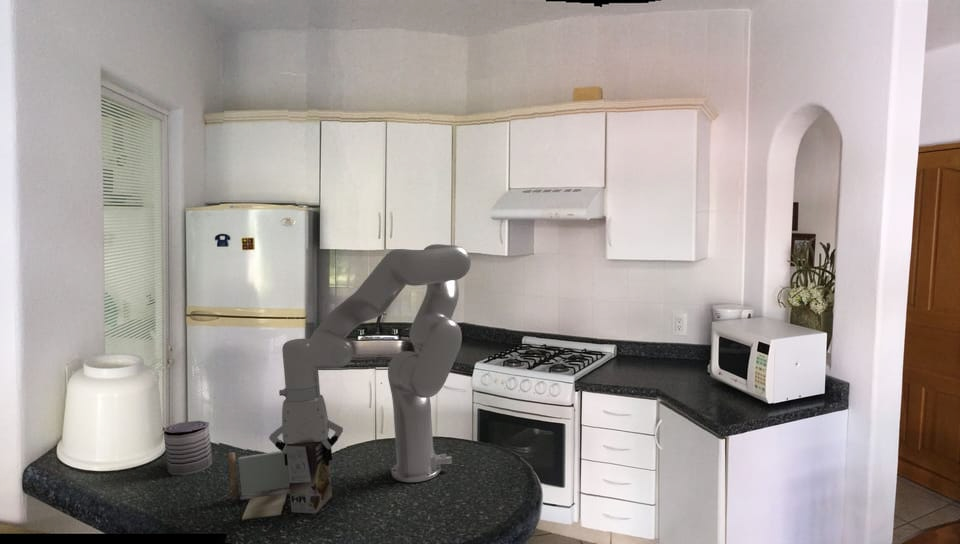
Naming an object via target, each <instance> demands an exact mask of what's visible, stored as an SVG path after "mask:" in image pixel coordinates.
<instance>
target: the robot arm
mask: <svg viewBox="0 0 960 544" xmlns="http://www.w3.org/2000/svg"><path fill="white" fill-rule="evenodd" d="M471 262H472V260H471V257H470V254H469V252H468V251H467V249H465V248H463V247H462V246H459V245H453V244H452V245H450V244H439V243H438V244H437V243H436V244H430V245H427V246H425V247H424V248H423V249H407V248H406V249H405V248H397V249H392V250H390V251H389V252H387V254H385V256H383V258H382V259H381V260H380V261H379V262H378V264H377V265H376V266H375V268H374V269H373V270H372V271H371V272H370V273H369V275H368V276H367V278H366V279H365V280H364V281H363V282H362V283H361V285H360V286H359V287H358V288H357V290H356V291H355V292H354V293H353V294H351V295H349V296H348V297H347V298H346V299H344V301H342V302H341V303H340V304H338V305H337V306H336V307H335V308H334V309H332V311H331V312H330V313H328V314H327V315H326V316H325V317H324V319H323V320H322V321H321V322H320V324H319V325H318V326H317V327H316V329H315V330H314V331H313V333H312V334H311V335H310V338H294V339H290V340H287V341H286V342H284V343H283V345H282V362H283V373H284V385H285V387H284V388H283V389H279V396H281V397H285V399H284V400H283V401H282V407H281V408H282V409H281V410H282V411H281V426H279V427H278V428H277V429H276V430H274V431H273V432H272V433H270V434H269V437H268V439H269V440H270V442H271V443H273V444H274V446H275V447H276V448H277V449H278V450H279V451H282V453H283V454H284V458H285V466H286V465H288V462H287V449H286V446H287V445H293V444H300V443H309V442H322V443H323V444H324V446H325V450H324V453H325V465H326V466H329V462H332V461H333V453H332V452H333V450H332V447H333V446H334V445H335V444H336V443H337V442H338V440H339V438H340V437H341V435H342V433H343V432H344V428H343V427H342V426H340V425H339V424H337V423H335V422H333V421H331V420H329V417H328V416H329V415H328V411H327V407H326V402H325V398H324V396H323V395H322V394H321V388H320V377H319V370H327V369H331V370H332V369H339V368H344V367H345V366H347V365H348V364H350V362H351V360H352V359H353V356H354V347H353V345H352V343H351V342H350V341H349V340H348V339H347V337H348V335H349V334H351V333H352V332H353V330H355V329H356V328H357V327H358V326H359V325H362V324H364V323H365V322H368V321H371V320H374V319H376V318H378V317H380V316H382V315H383V314H384V313H385V312H387V310H388V308H389V307H390V306H391V305H392V303H393V302H394V301H395V299H396V298H397V297H398V295H400V293H401V292H402V291H403V290H404V289H405V287H406V286H414V287H415V286H416V287H417V286H418V287H419V286H426V291H425V295H424V297H423V300H422V303H421V304H420V307H419V309H418V312H416V313H417V314H416V315H415V317H414V319H413V321H412V323H411V327H410V329H409V334H408V335H409V337H408V338H409V340H410V342H411V343H412V345H413V346H415V347H417V348H418V349H420V353H417V352H414V351H409V350H406V351H400V352H398V353H397V354H395V355H394V356H393V357H392V358H391V360H390V362H389V363H388V367H387V380H388V385H389V388H390V393H391V399H392V407H393V411H392V412H393V423H394V424H393V425H394V426H393V427H394V439H395V455H396V464H395V465H394V466H393V467H392V468H391V476H392V478H394V479H395V480H396V481H400V482H403V483H420V482H424V481H428V480H431V479H433V478H435V477H437V476H438V475H439V474H440V472H441V470H442V468H441V465H449V464H453V457H452V455H447V453H441V454H437V453H436V452H435V449H434V439H433V437H434V436H433V424H432V423H433V421H432V406H431V405H432V404H431V398H433V397H434V396H435V395H437V394H438V393H439V392H440V391H441V390H442V388H443V387H444V385H445V383H446V381H447V379H448V376H449V374H450V372H451V370H452V367H453V365H454V363H455V361H456V359H457V356H458V354H459V351H460V349H461V346H462V342H463V341H462V340H463V336H462V335H463V334H462V329H461V327H460V326H459V324H458V323H457V321H455V320H453V319H452V317H453V316H454V312H455V311H456V307H457V306H458V301H459V296H460V293H459V292H460V290H459V284H458V280H460V279H462V278H464V277H465V276H466V275H467V274H468V273H469V271H470V268H471V266H472V265H471V264H472V263H471ZM330 430H332V431H334V434H333V435H332V436H331V437H330V436H329V431H330ZM280 435H282V440H281V439H279V436H280Z"/></svg>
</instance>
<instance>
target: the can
mask: <svg viewBox="0 0 960 544" xmlns="http://www.w3.org/2000/svg"><path fill="white" fill-rule="evenodd" d="M209 424H210V422H207V421H201V420H195V421H182V422H177V423H175V424H170V425H166V426H165V427H164V428H163V429H162V430H161V431H162V432H163V439H164V448H165V457H166V466H167V472H168V473H170V475H172V476H173V475H174V476H186V475H191V474H195V473H200V472H201V471H204V470H205V469H208V468H210V466H211V465H212V463H213V456H212V454H213V453H212V445H211V436H210V427H209Z"/></svg>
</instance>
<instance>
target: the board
mask: <svg viewBox="0 0 960 544" xmlns="http://www.w3.org/2000/svg"><path fill="white" fill-rule="evenodd" d="M287 497H288V494H279V495H271V496H262V497H253V498H250V499H248V504H247V505H246V508H245V510H244V512H243V515H242V517H241V519H242V521H243V520H250V519H258V518H266V517H275V516H281V515H282V512H283V509H284V507H283V506H285V503H286V499H287Z"/></svg>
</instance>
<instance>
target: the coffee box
mask: <svg viewBox="0 0 960 544" xmlns="http://www.w3.org/2000/svg"><path fill="white" fill-rule="evenodd" d="M286 449H287V462H288V475H289V486H290V487H289V489H290V494H289V496H290V497H289V498H290V507H291V513H295V514H297V513H298V514H312V515H315V514H317V513H318V512H319V511H320V510H321V509H322V508H323V507H324V505H325V504H326V503H327V502H328V501H329V500H330V499H331V498H332V497H333V488H332V477H331V475H332V474H331V465H330V464H331V463H330V462H331V461H330V462H329V466H326V465H325V453H324V450H325V446H324V444H323V443H322V442H309V443H300V444H293V445H287V446H286Z"/></svg>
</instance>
